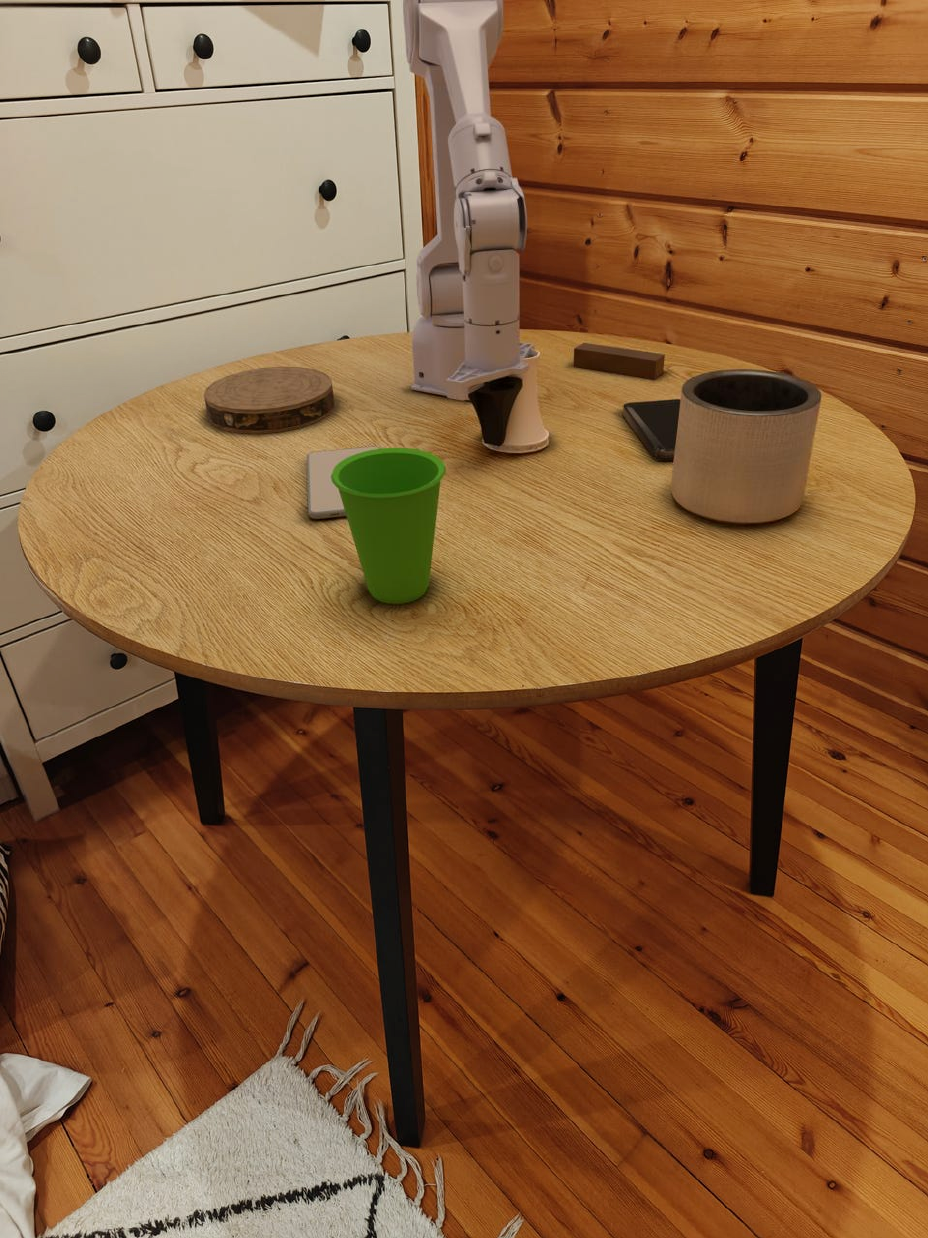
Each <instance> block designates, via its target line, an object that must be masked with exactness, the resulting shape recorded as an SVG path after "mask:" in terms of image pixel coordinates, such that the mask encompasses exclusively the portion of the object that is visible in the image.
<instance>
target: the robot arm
mask: <svg viewBox="0 0 928 1238" xmlns="http://www.w3.org/2000/svg"><path fill="white" fill-rule="evenodd" d="M402 14H403V15H402V16H403V29H404V30H403V31H404V40H405V41H404V42H405V53H406V54H405V55H406V62H407V64H408V69H409V73H412V74H414V75H416V76H418V77H420V78H423V79H424V82H425V87H426V89H427V93H428V97H429V107H430V124H431V140H432V159H433V160H432V161H433V175H434V176H433V178H434V193H435V195H434V196H435V211H436V213H435V214H436V230H437V231H436V233H437V234H436V235H435V236H434V237H433V238H432V239H431V240H430V241H429V242H428V243H426V245H425V246H423V248H422V249H420V251H419V252H418V254H417V257H416V277H415V278H416V279H415V280H416V281H415V282H416V283H415V284H416V297H417V305H418V311H419V314H420V315H421V317H420V318H419V319H418V320H417V322H416V323H415V325H414V328H413V331H412V336H411V350H412V364H413V381H414V383H413V384H412V385H410V388H411V390H413V391H418V392H422V393H423V392H424V393H429V394H434V395H439V396H443V397H446V398H447V399H452V400H458V401H462V402H463V401H470V403H471V405H472V406H473V408H474V411H475V413H476V415H477V419H478V421H479V425H480V429H481V430H480V431H481V436H482V437H481V438H482V439H483V441H484V443H485V444H490V445H494V446H499V447H500V446H501V445H502V444H503V443H504V441H505V437H506V429H507V424H508V420H509V416H510V413H511V410H512V407H513V405H514V402H515V400H516V398H517V396H518V394H519V392H520V390H521V388H522V386H523V380H522V379H521V378H519V377H509V375H512V374H516V375H521V374H523V373H525V372H527V371H528V370H529V364H528V363H524V358H531V355H530V354H531V349H533V350H536V349H535V344H533V343H527V342H521V341H520V339H521V338H520V337H521V335H520V332H521V331H520V329H521V328H520V326H521V325H520V324H521V322H520V320H521V319H520V317H521V316H520V313H521V312H520V311H521V310H520V305H521V303H520V301H521V299H520V297H521V296H520V288H521V287H520V286H521V285H520V253H518V252H517V250H519V252H523V251H524V249H525V247H526V244H527V243H526V242H527V234H528V213H527V206H526V200H525V195H524V192H523V189H522V187H521V186H520V184H519V180H518V178H517V177H513V173H512V172H513V171H512V167H511V166H512V165H511V161H510V155H509V154H510V153H509V147H508V140H507V134H506V130H505V127H504V125H503V124H502V122H500V121H499V120H498V119H497V118H494V117H493V116H492V112H491V95H490V80H489V69H490V67H491V65H492V63H493V62H492V61H493V60H494V58H495V56H496V53H497V50H498V48H499V45H500V43H501V41H502V39H503V31H504V0H402ZM525 348H527V350H525Z"/></svg>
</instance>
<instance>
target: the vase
mask: <svg viewBox="0 0 928 1238" xmlns="http://www.w3.org/2000/svg"><path fill="white" fill-rule="evenodd" d="M525 350H527V348H525ZM530 355H531V358H524V363H528V364H529V370H528V371H527V372H525V373H523V374H521V375H516V374H512V375H509V377H519V378H521V379H522V380H523V386H522V388H521V390H520V392H519V394H518V396H517V398H516V400H515V402H514V405H513V407H512V410H511V413H510V416H509V420H508V424H507V429H506V437H505V441H504V443H503V444H502V445H501V446H500V447H499V446H494V445H490V444H485V443H484V441H483V438H482V439H481V440H482V444H483V445H484V446H485V447H486V448H488V449H490V450H493V451H496V452H501V453H508V454H524V453H532V452H536V451H540V450H542V449H544V448H546V447H547V446H548V445H549V442H550V440H549V437H550V433H549V430H548V429H546V427H545V425H544V422H543V418H542V415H541V410H540V404H539V398H538V368H539V363H540V356H541V352H540V351H538V350H537V349H535V350H533V349H531V354H530Z"/></svg>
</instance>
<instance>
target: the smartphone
mask: <svg viewBox="0 0 928 1238" xmlns="http://www.w3.org/2000/svg"><path fill="white" fill-rule="evenodd" d="M375 449H381V447H380V446H377V445H371V446H370V445H369V446H359V447H349V448H338V449H327V450H317V451H311V452H309V453H307V455H306V482H307V484H306V485H307V486H306V487H307V513H308V517H310V518H311V519H315V520H319V519H328V518H330V519H331V518H337V517H338V518H339V517H347V516H346V513H345V510H344V506H343V503H342V499H341V496H340V493H339V489H338V488H337V487H336V486H335V485H334V484H333V483H332V479H331V475H332V472H333V470H334V468H335V467H336V465H337V464H338V463H339V462H341V461H343V460H344V459H346V458H348V457H350V456H352V455H355V454H357V453H361V452H365V451H369V450H375Z"/></svg>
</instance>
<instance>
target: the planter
mask: <svg viewBox="0 0 928 1238" xmlns="http://www.w3.org/2000/svg"><path fill="white" fill-rule="evenodd" d="M680 392H681V393H680V399H681V401H680V410H679V420H678V429H677V437H676V446H675V454H674V460H673V462H672V471H671V482H670V490H671V496H672V497H673V499H674V500H675V502H677V503H678V505H680V507H682V508H684V509H685V510H686V511H688V512H690V513H691V514H693V515H695V516H697V517H699V518H702V519H704V520H709V521H713V522H716V523H721V524H728V525H738V526H749V525H750V526H751V525H763V524H768V523H773V522H777V521H780V520H781V519H784V518H786V517H789V516H790V515H792V514H794V513H796V512H797V511H798V510H799V509H800V508H801V506H802V504H803V502H804V498H805V494H806V489H807V483H808V477H809V472H810V465H811V458H812V453H813V447H814V443H815V436H816V431H817V430H816V429H817V424H818V418H819V413H820V407H821V402H822V392H821V391H820V389H819V388H818V387H817V386H815V385H814V384H813V383H811V382H809V381H807V380H806V379H803V378H800V377H797V376H795V375H791V374H787V373H783V372H777V371H773V370H764V369H749V368H734V369H733V368H730V369H721V370H720V369H719V370H713V371H708V372H703V373H701V374H698V375H695V376H693V377H691V378H688V379H687V380H686V381H685V382H684V383H683V384H682V385H681V391H680Z"/></svg>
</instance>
